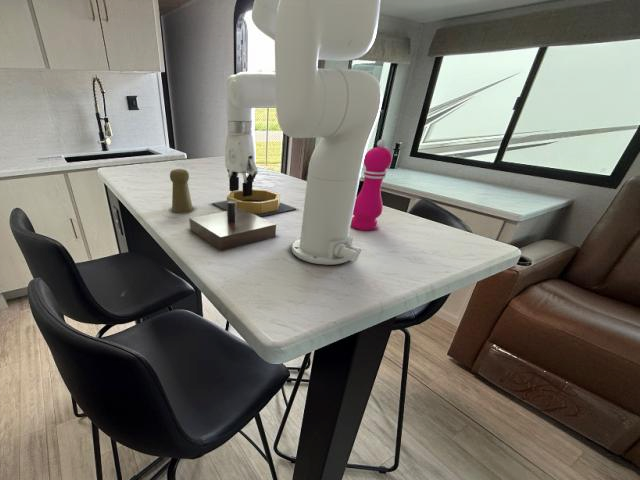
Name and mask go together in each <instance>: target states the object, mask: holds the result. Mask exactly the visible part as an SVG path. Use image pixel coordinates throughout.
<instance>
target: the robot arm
mask: <svg viewBox="0 0 640 480" xmlns="http://www.w3.org/2000/svg"><path fill="white" fill-rule="evenodd" d="M380 10H381V0H254V1H253V6H252V10H251V20H252V22H253V25H255V27H256V28H257V29H258V30H259V31H260V32H261V33H263V34H264V35H265V36H267V37H269V38H270V39H271V40H273V41H274V72H271V71H240V72H238V73H236V74H231V75H229V76H228V77H227V79H226V103H227V104H226V105H227V107H226V109H227V110H226V111H227V133H226V138H225V152H224V153H225V154H224V157H225V158H224V166H225V168H226V170H227V173H228V175H227V176H228V178H229V179H228V182H229V183H228V184H229V192H232V191H239V190H240V177H239V174H241V175H242V179H243V182H242V190H243V196H244V197H246V196H251V195H252V189H253V183H254V181H255V178H256V176H257V174H258V173H259V169H258V167H257V165H256V158H257V157H256V140H255V139H256V138H255V117H256V115H255V114H256V113H255V112H256V109H275V110H276V111H275V112H276V119H277V123H278V125H279V128H280V130H281V131H282V133H283V134H284V135H286V136H287V137H289V138H294V139H315V138H320V139H319V141H318V143H317V144H316V146H315V148H314V149H313V152H312V154H311V156H310V160H309V162H308V168H307V177H306V184H305V185H306V187H305V195H304V203H303V211H302V213H303V214H302V220H301V221H302V223H301V231H300V237H299V238H298V239H296V240H295V241H294V242H292V245H291V252H292V253H293V255H294V256H296V257H297V258H298V259H300V260H302V261H304V262H307V263H311V264H317V265H325V266H328V265H331V266H332V265H333V266H334V265H340V264H344V263H346V262H349V261H351V262H352V263H354V262H356V261H357V260H358V258H359V255H360V254H361V253H362V248H360V247H358V246H356V245H353V238H354V237H353V236H352V235H350V230H351V227H352V226H351V221H352V218H353V217H354V215H353V211H354V206H355V201H356V198H357V196H358V189H359V185H360V180H361V177H362V176H361V175H362V170H363V166H364V158H365V155H366V153H367V149H368V146H369V142H370V139H371V136H372V133H373V131H374V128H375V126H376V124H377V120H378V118H379V115H380V112H381V108H382V102H383V91H382V90H383V89H382V87H381V86H382V85H381V84H380V82H379V80H378V79H377V77H375V76H374V75H373V74H371V73H370V72H368V71H365V70H361V69H355V68H354V69H353V68H336V67H335V68H319V67H318V64H319V61H320V60H321V61H337V62H339V61H340V62H342V61H344V62H345V61H353V60H356V59H359V58H362V57H363V56H364V55H366V54H367V53H368V52H369V51H370V49H371V48H372V46H373V44H374V42H375V39H376V37H377V31H378V25H379V21H380V12H381V11H380Z"/></svg>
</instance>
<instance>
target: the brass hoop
mask: <svg viewBox="0 0 640 480" xmlns="http://www.w3.org/2000/svg"><path fill="white" fill-rule="evenodd" d="M248 199H251V200H266V201H263V202H248V201H242V200H248ZM226 201H227V202H228V201H235V202H236V209H240V208H241V209H243V210H246V211H248V212H250V213H254V214H262V213H267V212H272V211H276V210H278V207H279V204H280V203H281V194H280V193H277V192H274V191H273V190H272V191H271V190H270V189H269V190H268V189H255V188H254V189H253V188H252V195H251V196H246V197H244V196H243V189H239V190H237V191H230V193H229V194H228V195H227V196H226Z"/></svg>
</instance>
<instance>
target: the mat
mask: <svg viewBox="0 0 640 480" xmlns="http://www.w3.org/2000/svg"><path fill="white" fill-rule="evenodd" d="M242 201H248V202H263V201H266V200H251V199H248V200H242ZM212 205H213V206H215V207H217V208H219V209H220V210H223V211H227V200H224V201H218V202H213V203H212ZM296 210H297V208H295V207H294V206H293V207H292V206H290V205H287V204H284V203H283V202H280V204H279V207H278V210H276V211H272V212H267V213H262V214H254V213H252V214H254V215H257V216H259V217H261V218H264V217H269V216H273V215H278V214H283V213H287V212H292V211H296Z"/></svg>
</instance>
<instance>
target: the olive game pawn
mask: <svg viewBox="0 0 640 480" xmlns="http://www.w3.org/2000/svg"><path fill="white" fill-rule="evenodd" d="M169 179H170V181H171V182H172V190H171V191H172V197H171V198H172V199H171V200H172V201H171V210H172V212H174V213H178V214H179V213H180V214H185V213H189V212H192V211H193V210H194V208H193V201H192V197H191V192H190V188H189V183H188V182H189V180H190V173H189V171H187V169H185V168H175V169H171V171H170V173H169Z"/></svg>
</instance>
